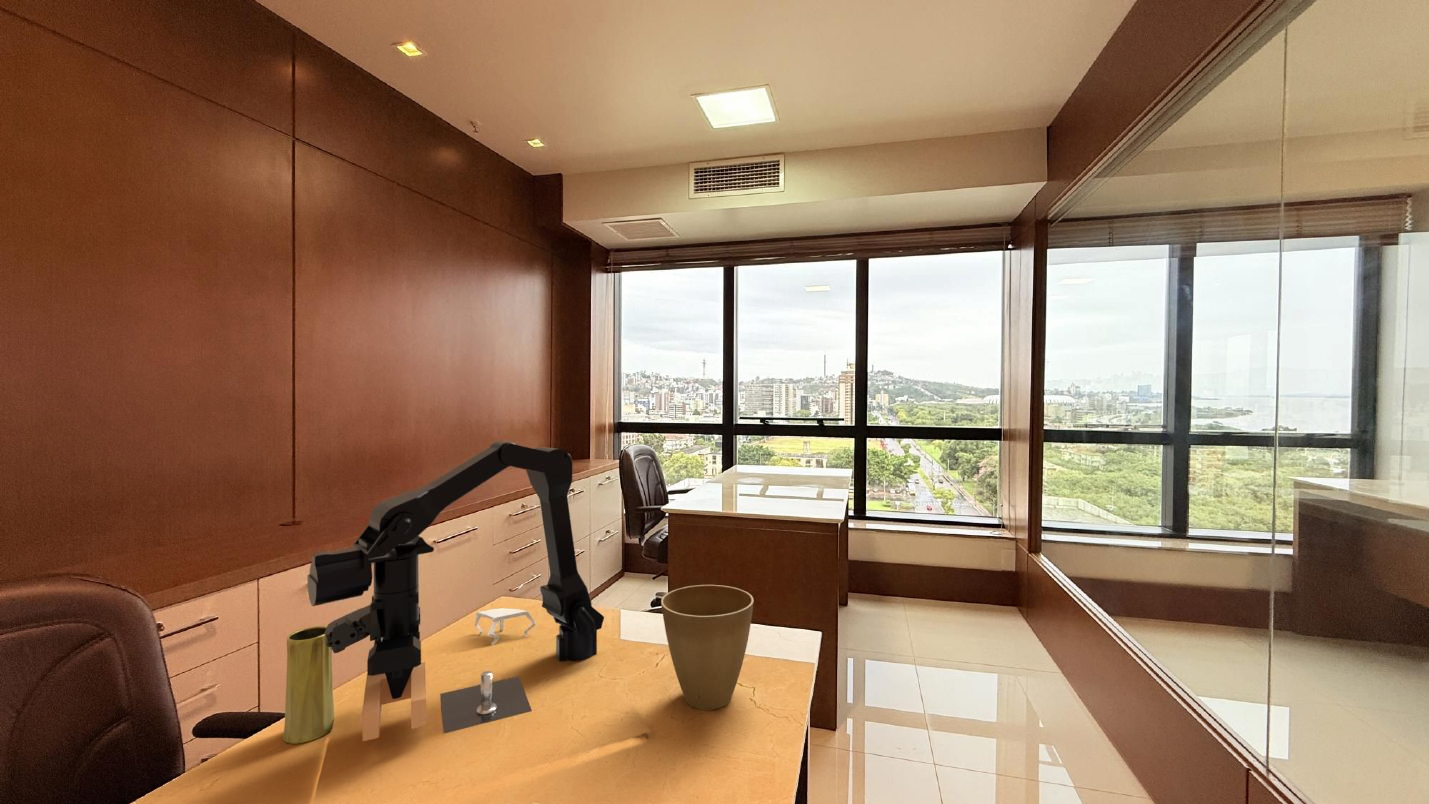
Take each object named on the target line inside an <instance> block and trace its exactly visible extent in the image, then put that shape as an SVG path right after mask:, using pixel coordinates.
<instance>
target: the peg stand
mask: <svg viewBox="0 0 1429 804" xmlns="http://www.w3.org/2000/svg"><path fill="white" fill-rule="evenodd" d="M440 703H441V704H440V705H441V707H440V708H441V717H442V729H443V730H442V731H443V734H447V733H450V732H451V733H452V732H455V731H459V730H462V729H463V730H464V729H467V728H470V727H475V726H478V725H483V724H487V723H490V722H491V723H492V722H495V721H498V720H502V719H506V718H511V717H514V716H518V715H521V714H525V713H529V712H532V711H533V710H532V708H531V707H532V706H531V705H530V702H529V699H528V696H527V694H526V691H525V688H524V686H523V684H522V680H521V678H520V676H519V675H518V676H514V677H509V678H504V679H500V680H496V681H493V671H491V670H487V671H483V672H482V673H480V684H476V685H474V686H473V685H472V686H468V687H463V688H460V689H459V688H458V689H455V690H451V691H447V692H442V693H440Z"/></svg>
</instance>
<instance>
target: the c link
mask: <svg viewBox="0 0 1429 804" xmlns="http://www.w3.org/2000/svg"><path fill="white" fill-rule="evenodd" d="M426 678H427V677H426V662H425V661H424V662H421V664H420V665H419V666H417V667H414V668H413V671H412V673H411V675H410V677H409V680H408V682H407V684H406V687H405V689H404V691H403V694H402V696H401V697H400V698H397V699H392V696H391V692H390V689H389V685H388V682H387V678H386V675H385V673H384V674H379V675H374V676H370V675H367V674H366V679H365V680H366V681H365V686H364V694H363V695H364V696H363V702H362V711H361V726H362V727H361V729H362V732H361V733H362V734H361V735H362V742H366V741H370V740H374V739H378V738H380V729H381V717H382V706H383V705H387V704H391V703H396V702H399V701H404V700H408V699H410V715H411V716H410V717H411V720H410V721H411V730H413V729H416V728H421V727H424V726H427V687H426V686H427V684H426V682H427V681H426Z"/></svg>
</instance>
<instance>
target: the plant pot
mask: <svg viewBox="0 0 1429 804" xmlns="http://www.w3.org/2000/svg"><path fill="white" fill-rule="evenodd" d="M660 604H661V605H660V606H661V612H662V617H663V626H664V629H665V635H666V639H667V640H666V641H667V644H668V645H667V646H668V649H669V653H670V658H671V661H672V665H673V667H674V671H675V674H676V678H677V680H678V683H679V686H680V688H681V692H682V694H683V697H684V699H685V701H686V703H687V704H688V705H689V706H690V707H692V708H695V709H699V710H705V711H707V710H708V711H710V710H716V709H717V710H718V709H721V708H723V707H725V706H727V705H728V704H729V703H730V701H731V699H732V697H733V694H734V692H735V688H736V686H737V683H738V679H739V677H740V674H741V670H742V665H743V663H744V659H745V654H746V651H747V650H746V649H747V646H748V642H749V641H748V640H749V637H750V636H749V635H750V631H751V624H752V618H753V611H754V610H753V609H754V597H753V595H752V594H751V593H749V592H748V591H745V590H743V589H742V588H741V589H740V588H737V587H735V586H734V587H733V586H727V585H716V584H699V585H689V586H684V587H680V588H676V589H673V590H671V591H669V592H667V593H666V594H665V595H663V596H662V598H661V600H660Z"/></svg>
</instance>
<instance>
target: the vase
mask: <svg viewBox="0 0 1429 804" xmlns="http://www.w3.org/2000/svg"><path fill="white" fill-rule="evenodd" d="M326 628H327V625H326V626H325V625H323V626H322V625H317V626H316V625H315V626H311V627H305V628H301V629H299V630H296V631H293V632H291V633H290V634H288V635H287V637H286V680H285V681H286V682H285V683H286V684H285V685H286V686H285V702H284V703H285V707H284V708H285V709H284V711H285V712H284V727H283V735H282V740H283V741H284V742H285V743H287V744H293V745H294V744H295V745H297V744H298V745H299V744H305V743H309V742H312V741H315V740H317V739H319V738H321V737H323V736H325V735H326V734H329V732H330V731H332V729H333V727H334V722H335V707H334V706H335V705H334V691H333V690H334V689H333V662H332V659H333V658H332V657H333V653H332V652H333V650H332V648H331V647H328V646H327V641H328V640H327V638H326V636H325V634H324V633H325V631H326Z"/></svg>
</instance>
